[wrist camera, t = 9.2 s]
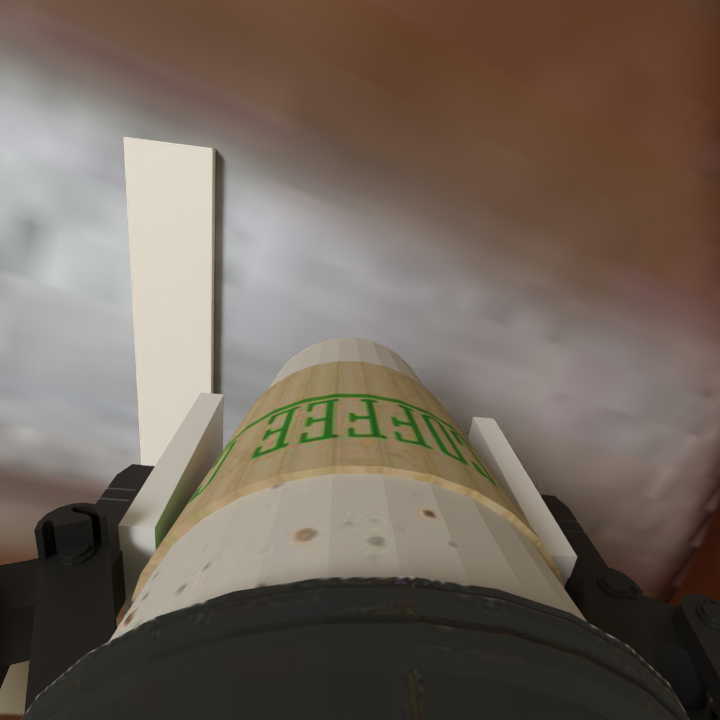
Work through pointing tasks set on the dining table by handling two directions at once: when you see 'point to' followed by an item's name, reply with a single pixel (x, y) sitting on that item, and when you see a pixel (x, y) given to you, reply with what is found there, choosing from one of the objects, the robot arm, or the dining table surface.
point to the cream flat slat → (170, 282)
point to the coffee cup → (354, 579)
